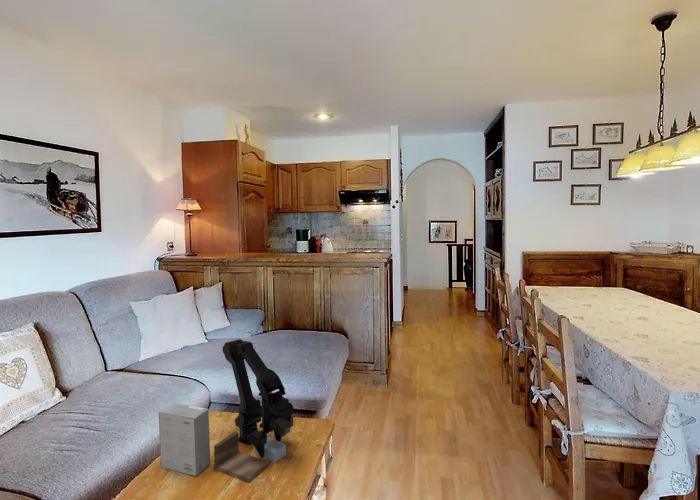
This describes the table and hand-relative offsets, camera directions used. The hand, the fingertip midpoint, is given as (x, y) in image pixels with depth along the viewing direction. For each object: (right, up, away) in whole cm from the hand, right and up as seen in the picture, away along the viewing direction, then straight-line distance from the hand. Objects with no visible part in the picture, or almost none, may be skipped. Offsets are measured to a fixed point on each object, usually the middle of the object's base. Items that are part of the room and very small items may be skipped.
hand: (270, 451), depth 142 cm
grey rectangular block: (0, -1, 0) cm, 1 cm away
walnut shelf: (-9, -2, -8) cm, 12 cm away
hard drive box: (-28, -2, -7) cm, 29 cm away
